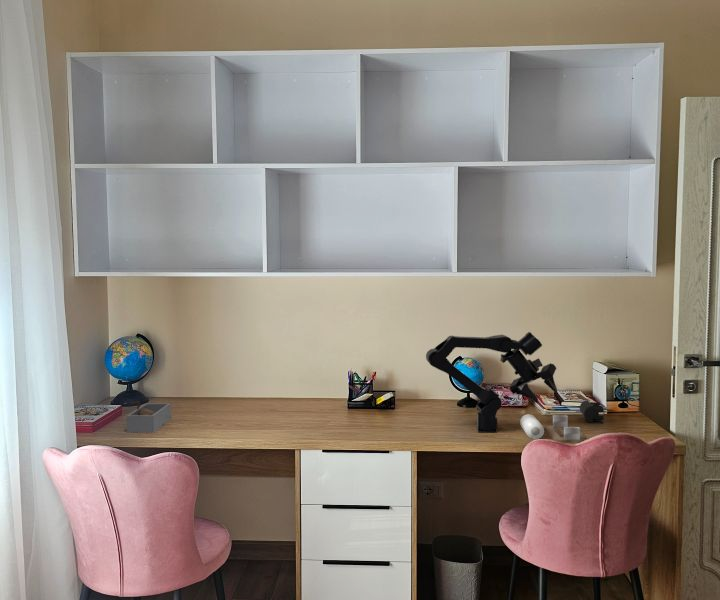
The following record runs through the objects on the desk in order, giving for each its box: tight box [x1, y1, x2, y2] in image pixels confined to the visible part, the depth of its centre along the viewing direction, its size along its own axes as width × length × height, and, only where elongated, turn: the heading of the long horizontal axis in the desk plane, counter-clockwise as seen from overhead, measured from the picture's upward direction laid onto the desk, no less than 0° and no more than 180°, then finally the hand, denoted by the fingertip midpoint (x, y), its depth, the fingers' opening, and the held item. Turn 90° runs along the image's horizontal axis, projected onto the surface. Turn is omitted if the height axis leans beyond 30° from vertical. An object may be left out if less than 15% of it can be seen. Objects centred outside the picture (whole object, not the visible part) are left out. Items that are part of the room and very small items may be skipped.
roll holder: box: [543, 414, 588, 444], centre depth 247 cm, size 11×18×5 cm, turn 177°
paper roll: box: [519, 413, 545, 440], centre depth 249 cm, size 6×12×6 cm, turn 177°
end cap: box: [579, 400, 605, 424], centre depth 269 cm, size 10×7×7 cm
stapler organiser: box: [125, 402, 172, 433], centre depth 264 cm, size 10×20×6 cm, turn 177°
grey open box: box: [128, 400, 166, 426], centre depth 264 cm, size 14×4×9 cm, turn 75°
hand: (546, 396), depth 255 cm, fingers open, 9 cm apart
